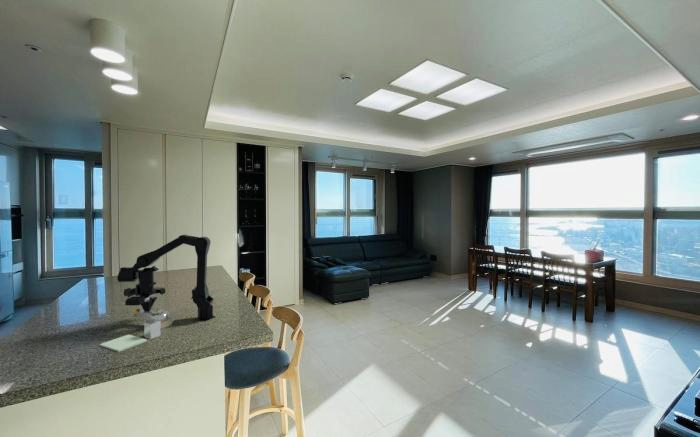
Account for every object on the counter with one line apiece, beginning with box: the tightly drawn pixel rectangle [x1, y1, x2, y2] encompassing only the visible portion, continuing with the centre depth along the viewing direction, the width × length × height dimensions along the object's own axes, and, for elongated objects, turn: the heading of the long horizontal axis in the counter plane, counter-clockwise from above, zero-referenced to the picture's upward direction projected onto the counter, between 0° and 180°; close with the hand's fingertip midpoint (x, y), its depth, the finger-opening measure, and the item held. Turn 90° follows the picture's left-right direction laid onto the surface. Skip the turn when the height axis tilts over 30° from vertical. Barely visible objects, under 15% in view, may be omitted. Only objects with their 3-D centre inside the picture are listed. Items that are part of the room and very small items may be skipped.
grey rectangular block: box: [143, 319, 162, 340], centre depth 121 cm, size 4×4×6 cm
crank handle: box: [133, 307, 170, 322], centre depth 133 cm, size 17×7×5 cm, turn 79°
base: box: [148, 316, 174, 329], centre depth 132 cm, size 10×10×2 cm
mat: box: [99, 333, 148, 353], centre depth 113 cm, size 12×10×1 cm
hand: (146, 314), depth 136 cm, fingers closed
